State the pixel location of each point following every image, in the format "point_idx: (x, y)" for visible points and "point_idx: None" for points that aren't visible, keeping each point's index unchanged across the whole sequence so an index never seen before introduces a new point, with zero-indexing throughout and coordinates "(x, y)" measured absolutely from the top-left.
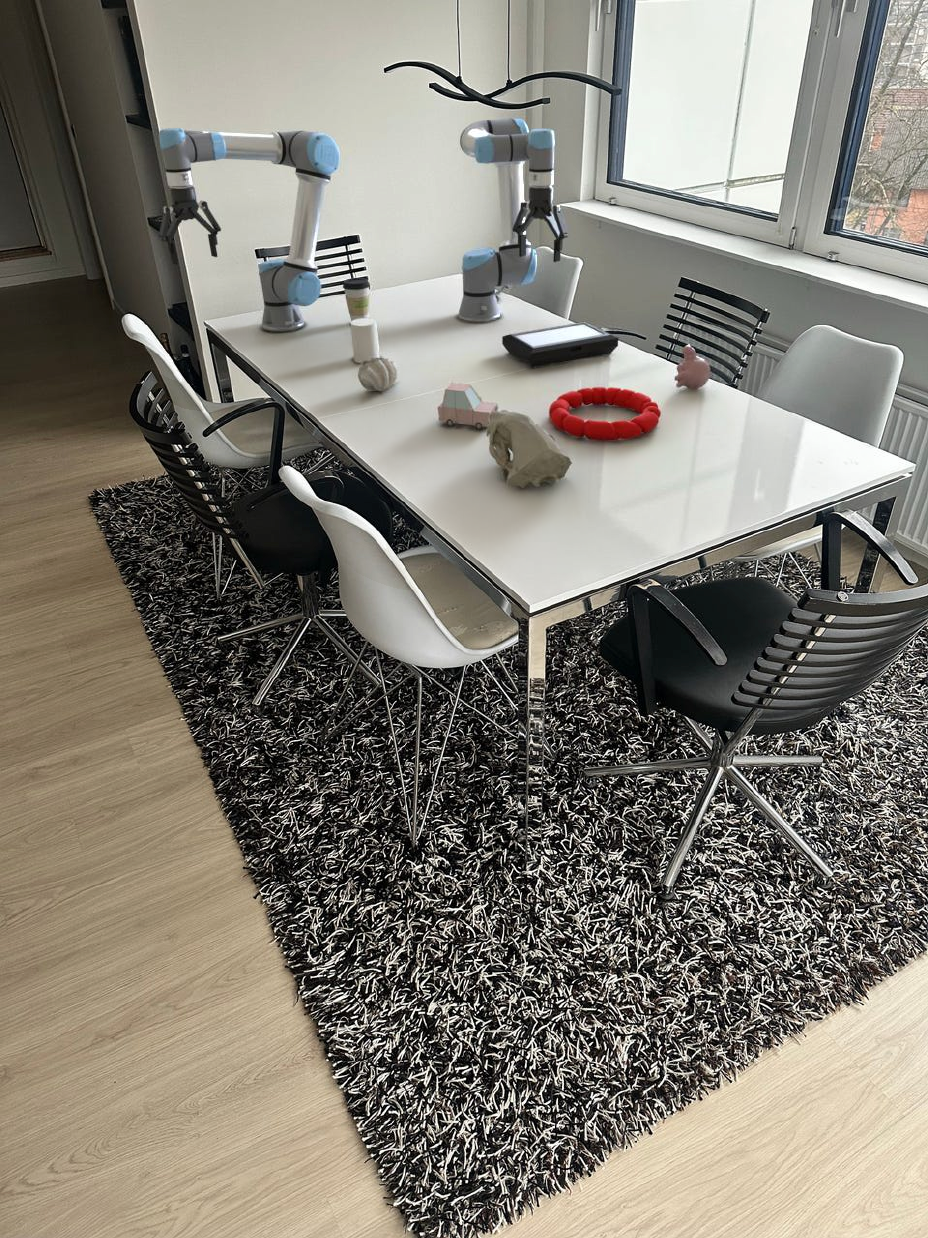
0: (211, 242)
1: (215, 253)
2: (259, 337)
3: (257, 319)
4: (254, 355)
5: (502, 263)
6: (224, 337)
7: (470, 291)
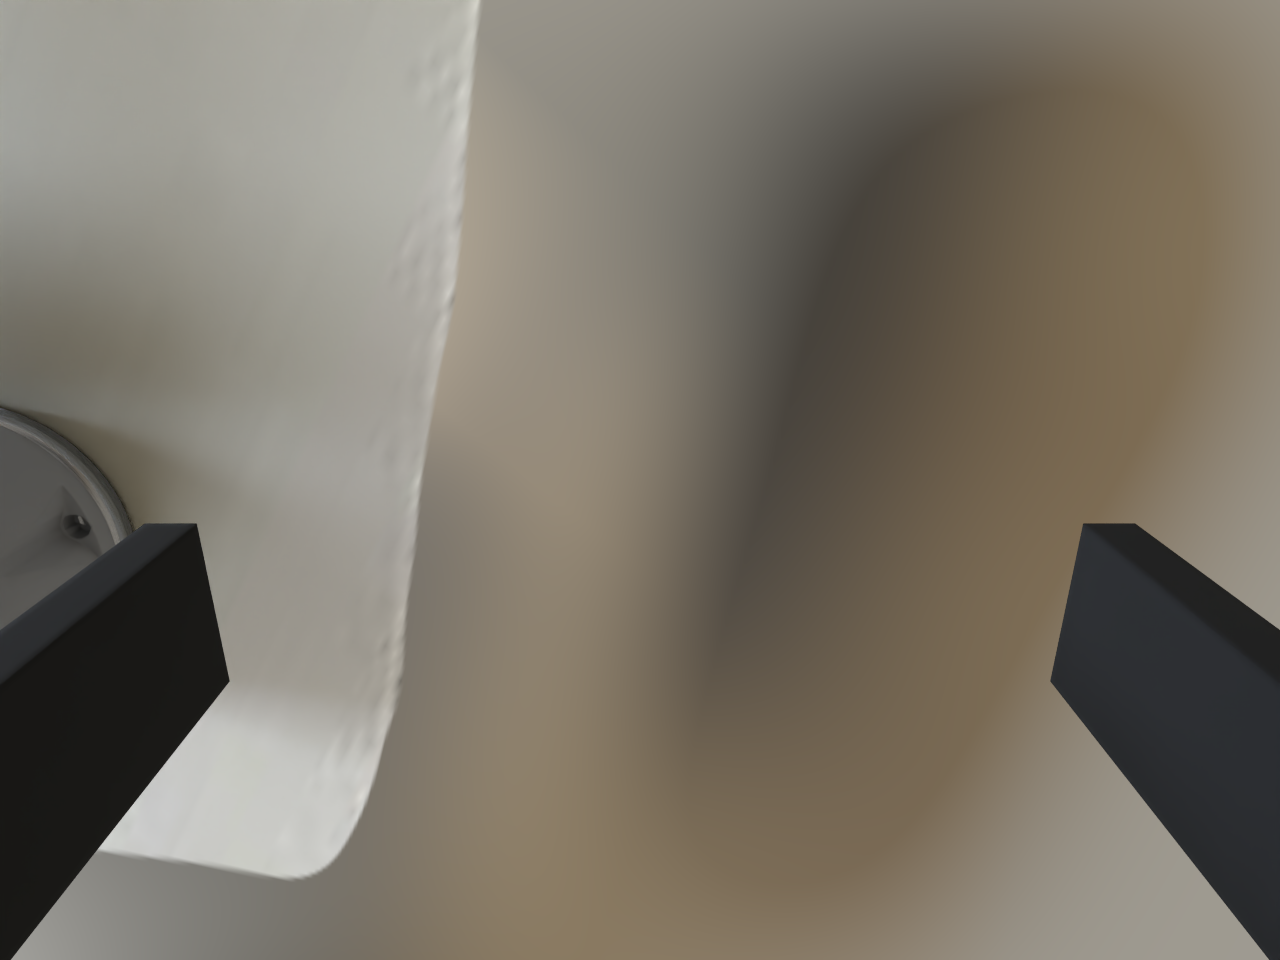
0: (11, 787)
1: (144, 552)
2: (220, 443)
3: None
4: (407, 107)
5: None
6: (404, 597)
7: None
